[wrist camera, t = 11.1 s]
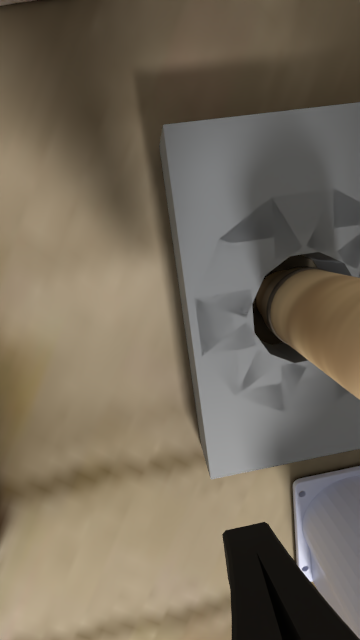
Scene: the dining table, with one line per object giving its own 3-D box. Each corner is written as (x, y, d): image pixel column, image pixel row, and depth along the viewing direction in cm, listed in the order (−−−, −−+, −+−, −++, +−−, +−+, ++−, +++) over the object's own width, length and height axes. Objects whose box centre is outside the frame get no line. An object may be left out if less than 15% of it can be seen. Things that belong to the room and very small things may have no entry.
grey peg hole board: (424, 401, 22) (467, 426, 19) (201, 445, 20) (210, 479, 18) (446, 111, 17) (508, 85, 14) (159, 146, 16) (162, 124, 13)
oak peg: (314, 324, 19) (451, 398, 11) (250, 334, 19) (337, 417, 10) (315, 258, 18) (469, 280, 9) (247, 266, 18) (342, 297, 9)
